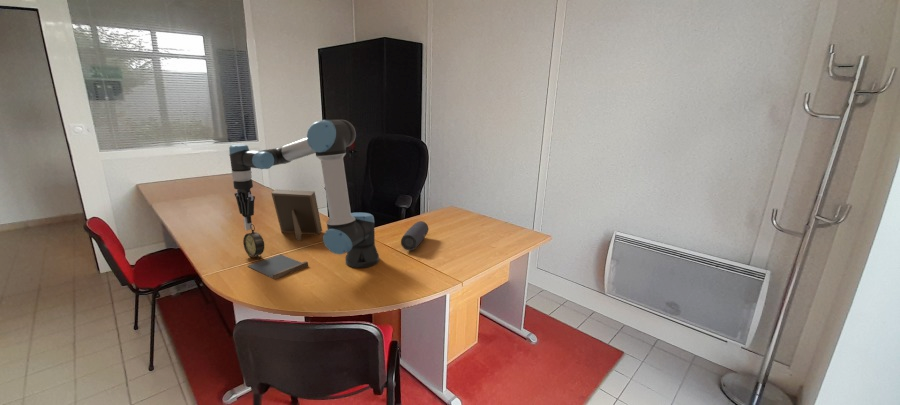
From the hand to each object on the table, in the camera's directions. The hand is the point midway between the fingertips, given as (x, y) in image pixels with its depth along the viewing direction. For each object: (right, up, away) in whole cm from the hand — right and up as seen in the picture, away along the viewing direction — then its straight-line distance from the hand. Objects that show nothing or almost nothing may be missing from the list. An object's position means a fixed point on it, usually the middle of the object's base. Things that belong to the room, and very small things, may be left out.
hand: (248, 229), depth 172 cm
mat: (+17, -16, -7) cm, 24 cm away
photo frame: (+10, -6, +30) cm, 32 cm away
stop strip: (+25, -18, -13) cm, 33 cm away
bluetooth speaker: (+76, -10, +22) cm, 79 cm away
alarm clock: (+3, -13, +1) cm, 14 cm away
